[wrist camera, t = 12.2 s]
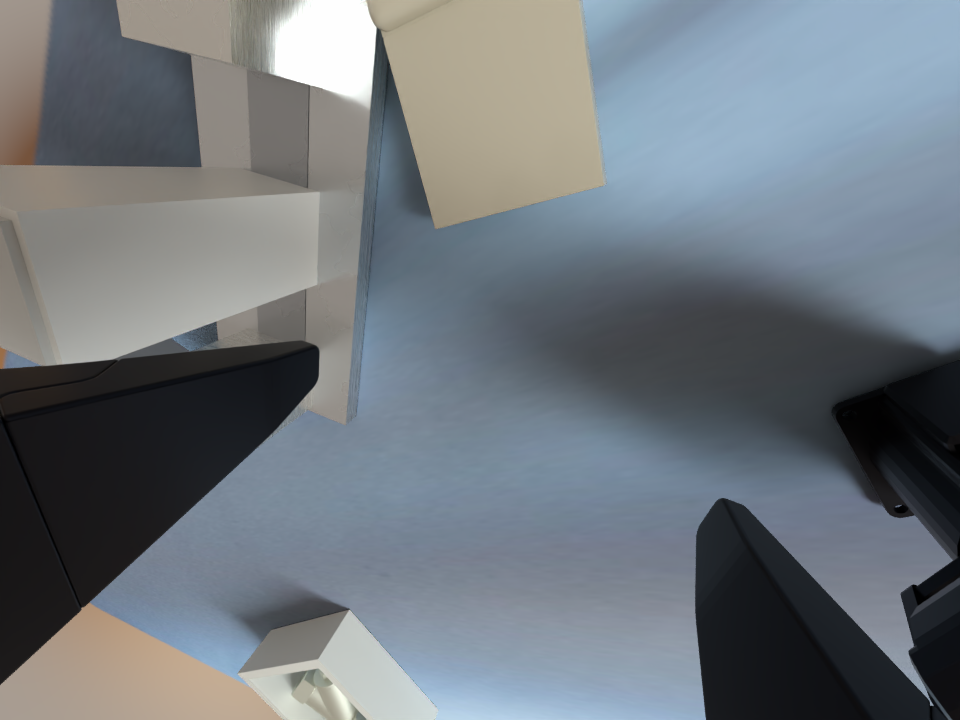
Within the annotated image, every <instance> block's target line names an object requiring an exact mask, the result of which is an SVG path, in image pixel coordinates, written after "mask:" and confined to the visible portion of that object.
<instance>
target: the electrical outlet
mask: <svg viewBox="0 0 960 720" xmlns="http://www.w3.org/2000/svg"><path fill="white" fill-rule="evenodd" d="M365 1H366V4H367V8H368V11H369V15H370V17H371V20H372V22H373V23H374V25H375V26H376V27H377V28H379V29H380V30H381V33H382V37H383V38H384V39H383V41H384V44H385V48H386V51H387V55H388V59H389V62H390V66H391V70H392V73H393V77H394V81H395V84H396V88H397V91H398V95H399V99H400V102H401V106H402V110H403V113H404V117H405V121H406V124H407V128H408V131H409V135H410V139H411V142H412V146H413V150H414V153H415V157H416V161H417V164H418V168H419V171H420V175H421V179H422V182H423V186H424V190H425V193H426V197H427V201H428V204H429V208H430V211H431V215H432V219H433V222H434V226H435V229H439V228H443V227H447V226H450V225H454V224H458V223H462V222H466V221H470V220H473V219H477V218H481V217H485V216H489V215H493V214H497V213H500V212H504V211H508V210H512V209H516V208H520V207H523V206H527V205H531V204H535V203H539V202H543V201H547V200H550V199H554V198H558V197H562V196H566V195H570V194H574V193H577V192H581V191H585V190H589V189H593V188H597V187H600V186H604V185H606V184H607V180H606V172H605V165H604V157H603V150H602V142H601V135H600V127H599V120H598V112H597V105H596V97H595V90H594V82H593V75H592V67H591V60H590V53H589V45H588V38H587V30H586V23H585V15H584V8H583V0H365Z"/></svg>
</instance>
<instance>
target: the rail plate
mask: <svg viewBox="0 0 960 720" xmlns="http://www.w3.org/2000/svg"><path fill="white" fill-rule="evenodd" d="M116 1H117V7H118V14H119V20H120V26H121V33H122V37H126V38H130V39H133V40H137V41H141V42H145V43H148V44H152V45H156V46H159V47H163V48H167V49H171V50H174V51H178V52H182V53H186V54H189V55H191V61H192V71H193V82H194V92H195V102H196V113H197V123H198V134H199V144H200V155H201V165H202V167H223V168H241V169H245V170H248V171H251V172H255V173H258V174H262V175H265V176H268V177H272V178H275V179H278V180H282V181H285V182H288V183H292V184H295V185H298V186H302V187H305V188H308V189H312V190H315V191H319V192H320V196H319V229H318V263H317V285H315V286H312V287H309V288H307V289H304V290H301V291H298V292H296V293H293V294H290V295H287V296H285V297H282V298H279V299H276V300H274V301H271V302H268V303H265V304H263V305H260V306H257V307H254V308H252V309H249V310H246V311H243V312H241V313H238V314H235V315H233V316H230V317H227V318H224V319H222V320H219V321H216V322H217V332H218V341H215V342H213V343H210V344H208V345H206V346H203V347H201V348H198V349H196V350H193V351H200V350H210V349H220V348H229V347H239V346H249V345H258V344H268V343H278V342H287V341H297V340H303V341H306V342H309V343H311V344H314V345H316V346H317V347H318V348H319V351H320V358H319V378H318V381H317V383H316V385H315V386H314V388H313V389H312V390H311V391H310V392H309V393H308V394H307V395H306V397H305V398H304V399H303V400H302V401H301V402H300V403H299V405H298V406H297V407H296V408H295V409H294V410H293V411H292V412H291V414H290V415H289V416H288V417H287V418H286V419H285V420H284V422H283V423H282V424H281V425H280V426H279V427H278V428H277V429H276V430H275V431H274V432H273V433H272V434H271V435H270V436H269V437H268V438H267V439H266V440H265V441H264V442H263V443H265V442H266V441H267V440H269V439H270V438H271V437H273V436H274V435H275V434H277V433H278V432H279V431H281V430H282V429H283V428H285V427H286V426H287V425H289V424H290V423H291V422H293V421H294V420H295V419H297V418H298V417H299V416H301V415H302V414H303V413H305V412H306V411H307V410H310V411H312V412H314V413H317V414H319V415H322V416H324V417H327V418H329V419H331V420H334V421H336V422H339V423H341V424H344V425H347V424H348V423H349V422H350V421H351V420H352V419H353V418H355V417H356V413H357V402H358V391H359V380H360V369H361V358H362V347H363V336H364V325H365V314H366V303H367V292H368V281H369V270H370V259H371V248H372V237H373V227H374V216H375V205H376V194H377V183H378V172H379V161H380V150H381V139H382V128H383V117H384V106H385V95H386V84H387V73H388V62H389V59H388V55H387V51H386V48H385V44H384V41H383V39H384V38H383V37H382V33H381V30H380V29H379V28H377V27H376V26H375V25H374V23H373V22H372V20H371V17H370V15H369V11H368V8H367V4H366V1H365V0H116ZM263 443H262V444H263ZM262 444H261V445H262ZM261 445H260V446H261ZM258 447H259V446H258ZM258 447H257V448H258ZM257 448H256V449H257Z"/></svg>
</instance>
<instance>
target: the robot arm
mask: <svg viewBox="0 0 960 720" xmlns="http://www.w3.org/2000/svg"><path fill="white" fill-rule="evenodd" d="M319 358H320V351H319V348H318V347H317V346H316V345H314V344H311V343H309V342H306V341H303V340H297V341H287V342H278V343H268V344H258V345H249V346H239V347H229V348H220V349H210V350H200V351H191V352H181V353H171V354H162V355H152V356H142V357H133V358H123V359H120V360H119V361H118V360H117V359H113V360H103V361H93V362H83V363H72V364H61V365H49V366H35V367H22V368H7V369H0V685H1V684H2V683H3V682H4V681H5V680H6V679H7V678H8V677H9V676H11V674H12V673H14V672H15V670H17V669H18V668H19V667H20V666H21V665H22V664H24V663H25V662H26V661H27V660H28V659H29V658H30V657H31V656H32V655H33V654H34V653H35V652H36V651H38V650H39V648H41V647H42V646H43V645H44V644H45V643H46V642H47V641H48V640H49V639H51V637H53V636H54V635H55V634H56V633H57V632H58V631H59V630H60V629H61V628H63V627H64V626H65V625H66V624H67V623H68V622H69V621H70V620H71V619H72V618H73V617H74V616H75V615H77V614H78V613H79V612H80V611H81V607H85V606H86V605H87V604H88V603H89V602H90V601H91V600H93V599H94V598H95V597H96V596H97V595H98V594H99V593H100V592H101V591H102V590H103V589H104V588H106V587H107V586H108V585H109V584H110V583H111V582H112V581H113V580H114V579H115V578H116V577H117V576H119V575H120V574H121V573H122V572H123V571H124V570H125V569H126V568H127V567H128V566H129V565H130V564H132V563H133V562H134V561H135V560H136V559H137V558H138V557H139V556H140V555H141V554H142V553H143V552H145V551H146V550H147V549H148V548H149V547H150V546H151V545H152V544H153V543H154V542H155V541H157V540H158V539H159V538H160V537H161V536H162V535H163V534H164V533H165V532H166V531H167V530H168V529H170V528H171V527H172V526H173V525H174V524H175V523H176V522H177V521H178V520H179V519H180V518H181V517H183V516H184V515H185V514H186V513H187V512H188V511H189V510H190V509H191V508H192V507H193V506H194V505H196V504H197V503H198V502H199V501H200V500H201V499H202V498H203V497H204V496H205V495H206V494H207V493H209V492H210V491H211V490H212V489H213V488H214V487H215V486H216V485H217V484H218V483H219V482H221V481H222V480H223V479H224V478H225V477H226V476H227V475H228V474H229V473H230V472H231V471H232V470H234V469H235V468H236V467H237V466H238V465H239V464H240V463H241V462H242V461H243V460H244V459H245V458H247V457H248V456H249V455H250V454H251V453H252V452H253V451H254V450H255V449H256V448H257V447H258V446H260V445H261V444H262V443H263V442H264V441H265V440H266V439H267V438H268V437H269V436H270V435H271V434H272V433H273V432H274V431H275V430H276V429H277V428H278V427H279V426H280V425H281V424H282V423H283V422H284V420H285V419H286V418H287V417H288V416H289V415H290V414H291V412H292V411H293V410H294V409H295V408H296V407H297V406H298V405H299V403H300V402H301V401H302V400H303V399H304V398H305V397H306V395H307V394H308V393H309V392H310V391H311V390H312V389H313V388H314V386H315V385H316V383H317V381H318V378H319ZM850 410H852V411H853V412H852V413H851V414H850V415H848V416H842V415H843V413H844V412H846V411H850ZM832 415H833V417H834V419H835V421H836V423H837V424H838V426H839V428H840V430H841V432H842V433H843V435H844V437H845V439H846V441H847V443H848V444H849V446H850V448H851V450H852V452H853V453H854V455H855V457H856V459H857V461H858V462H859V464H860V466H861V468H862V470H863V471H864V473H865V475H866V477H867V479H868V480H869V482H870V484H871V486H872V488H873V489H874V491H875V493H876V495H877V497H878V498H879V500H880V502H881V504H882V506H883V507H884V508H885V510H886V511H887V512H888V513H889V514H890V515H891V516H893V517H898V518H903V517H909V516H914V515H915V516H916V517H917V518H918V519H919V521H920V522H921V523H922V524H923V525H924V526H925V528H926V529H927V530H928V531H929V532H930V534H931V535H932V536H933V537H934V538H935V540H936V541H937V542H938V543H939V544H940V545H941V547H942V548H943V549H944V550H945V551H946V553H947V554H948V555H949V556H950V557H951V559H952V560H953V561H952V562H951V563H949V564H948V565H946V566H945V567H943V568H942V569H941V570H939V571H938V572H936V573H935V574H934V575H932V576H931V577H929V578H928V579H927V580H925V581H924V582H922V583H921V584H920V585H918V586H917V585H911V586H910V587H908V588H907V589H906V590H904V591H903V592H901V598H902V602H903V605H904V609H905V613H906V617H907V621H908V624H909V628H910V632H911V636H912V640H913V643H914V647H913V648H911V649H910V650H909V651H908V652H909V656H910V659H911V662H912V665H913V666H914V668H915V670H916V672H917V674H918V675H919V677H920V679H921V681H922V682H923V684H924V686H925V688H926V690H927V693H928V695H929V698H930V700H931V702H932V703H933V705H934V706H930V702H929V700H928V699H927V698H926V696H925V695H924V694H923V693H922V692H921V691H920V690H919V689H918V688H917V687H916V686H915V685H914V684H913V683H912V682H911V681H910V680H909V679H908V677H907V676H906V675H905V674H904V673H903V672H902V671H901V670H900V669H899V668H898V667H897V666H896V665H895V664H894V663H893V662H892V661H891V660H890V659H889V657H888V656H887V655H886V654H885V653H884V652H883V651H882V650H881V649H880V648H879V647H878V646H877V645H876V644H875V643H874V642H873V641H872V640H871V639H870V637H869V636H868V635H867V634H866V633H865V632H864V631H863V630H862V629H861V628H860V627H859V626H858V625H857V624H856V623H855V622H854V621H853V620H852V618H851V617H850V616H849V615H848V614H847V613H846V612H845V611H844V610H843V609H842V608H841V607H840V606H839V605H838V604H837V603H836V602H835V601H834V600H833V598H832V597H831V596H830V595H829V594H828V593H827V592H826V591H825V590H824V589H823V588H822V587H821V586H820V585H819V584H818V583H817V582H816V581H815V580H814V578H813V577H812V576H811V575H810V574H809V573H808V572H807V571H806V570H805V569H804V568H803V567H802V566H801V565H800V564H799V563H798V562H797V561H796V559H795V558H794V557H793V556H792V555H791V554H790V553H789V552H788V551H787V550H786V549H785V548H784V547H783V546H782V545H781V544H780V543H779V542H778V540H777V539H776V538H775V537H774V536H773V535H772V534H771V533H770V532H769V531H768V530H767V529H766V528H765V527H764V526H763V525H762V524H761V523H760V522H759V520H758V519H757V518H756V517H755V516H754V515H753V514H752V513H751V512H750V511H749V510H748V509H747V508H746V507H745V506H744V505H742V504H739V503H736V502H734V501H731V500H728V499H726V498H721V499H718V500H717V501H716V502H715V504H714V505H713V506H712V508H711V509H710V511H709V512H708V514H707V515H706V517H705V518H704V520H703V521H702V522H701V524H700V526H699V528H698V531H697V535H696V583H695V613H696V626H697V636H698V646H699V656H700V666H701V676H702V685H703V695H704V705H705V715H706V720H960V360H959V361H956V362H953V363H950V364H947V365H944V366H941V367H939V368H936V369H933V370H930V371H927V372H924V373H921V374H918V375H915V376H912V377H909V378H906V379H903V380H900V381H897V382H894V383H891V384H889V385H887V386H886V387H884V388H881V389H878V390H875V391H872V392H869V393H866V394H863V395H860V396H857V397H854V398H851V399H848V400H845V401H842V402H840V403H838V404H836V405H835V406H834V407H833V409H832ZM897 505H902V506H900V507H895V506H897Z"/></svg>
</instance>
